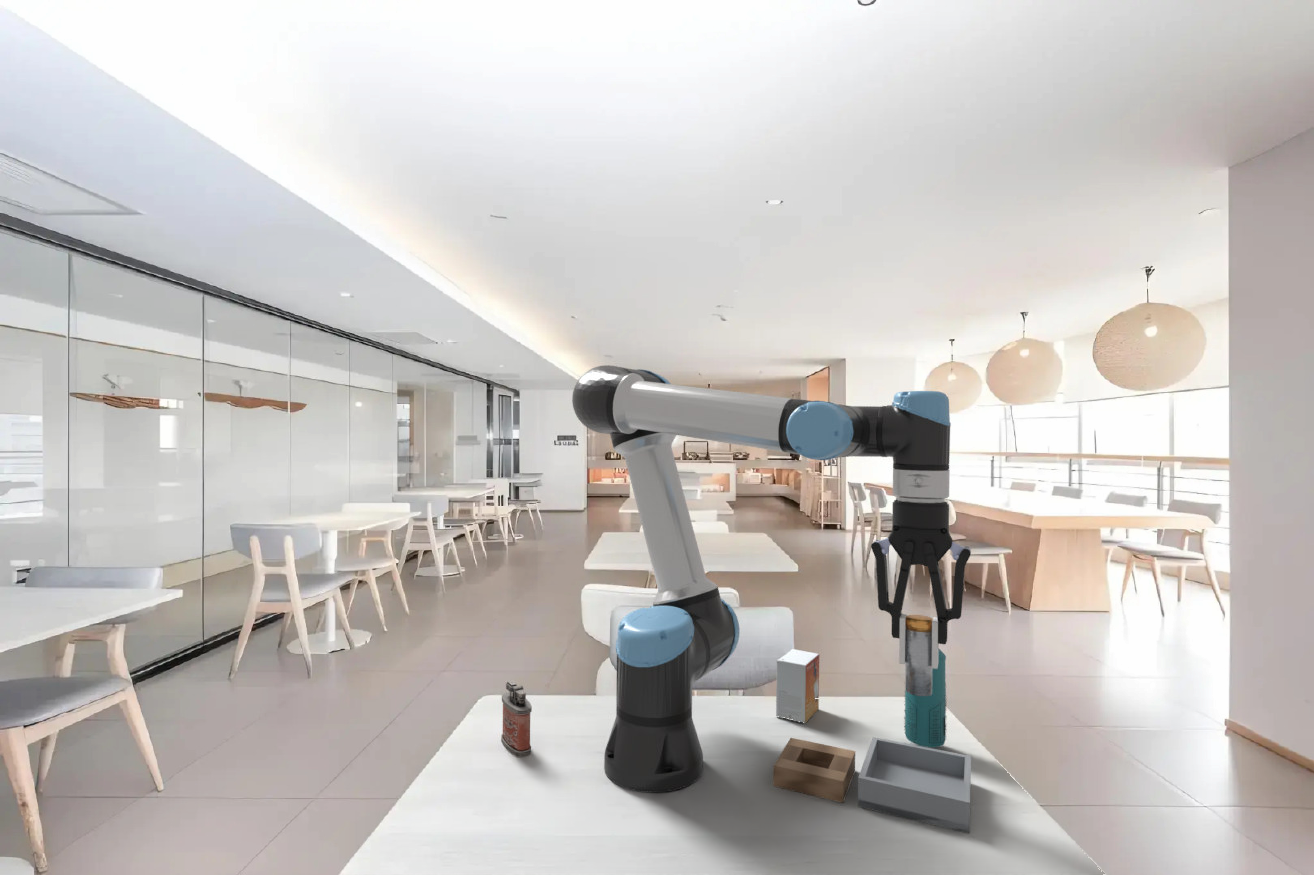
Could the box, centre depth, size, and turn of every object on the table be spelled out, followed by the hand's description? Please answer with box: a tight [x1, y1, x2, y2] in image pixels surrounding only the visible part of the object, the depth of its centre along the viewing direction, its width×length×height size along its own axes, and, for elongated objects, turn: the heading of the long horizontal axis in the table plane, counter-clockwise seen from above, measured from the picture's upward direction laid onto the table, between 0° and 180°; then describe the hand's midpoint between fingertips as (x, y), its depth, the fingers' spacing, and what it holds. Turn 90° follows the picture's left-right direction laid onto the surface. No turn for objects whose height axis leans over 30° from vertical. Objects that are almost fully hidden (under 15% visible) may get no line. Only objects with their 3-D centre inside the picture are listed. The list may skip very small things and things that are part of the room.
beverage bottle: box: [903, 648, 948, 748], centre depth 111 cm, size 6×7×20 cm
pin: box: [904, 614, 933, 696], centre depth 96 cm, size 4×4×10 cm
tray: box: [857, 736, 972, 834], centre depth 96 cm, size 14×14×4 cm
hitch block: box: [772, 737, 856, 803], centre depth 101 cm, size 10×10×3 cm
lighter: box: [500, 679, 533, 758], centre depth 110 cm, size 8×3×10 cm, turn 34°
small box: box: [775, 648, 820, 724], centre depth 124 cm, size 8×6×10 cm
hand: (918, 662), depth 96 cm, fingers closed on pin, 4 cm apart
